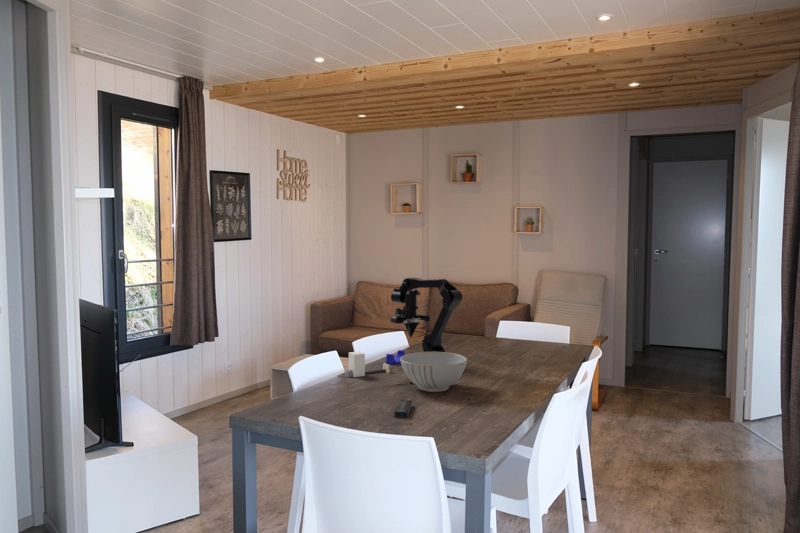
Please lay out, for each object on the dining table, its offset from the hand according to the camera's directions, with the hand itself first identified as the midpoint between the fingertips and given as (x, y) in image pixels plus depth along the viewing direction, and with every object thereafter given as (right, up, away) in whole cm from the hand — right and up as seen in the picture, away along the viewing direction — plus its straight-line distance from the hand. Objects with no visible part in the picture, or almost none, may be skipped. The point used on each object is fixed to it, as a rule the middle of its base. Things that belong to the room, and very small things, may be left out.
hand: (410, 336), depth 287 cm
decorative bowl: (+8, -16, -43) cm, 47 cm away
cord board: (-19, -14, -25) cm, 35 cm away
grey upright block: (-23, -13, -28) cm, 39 cm away
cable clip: (-8, -13, 0) cm, 15 cm away
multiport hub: (-4, -18, -75) cm, 78 cm away
